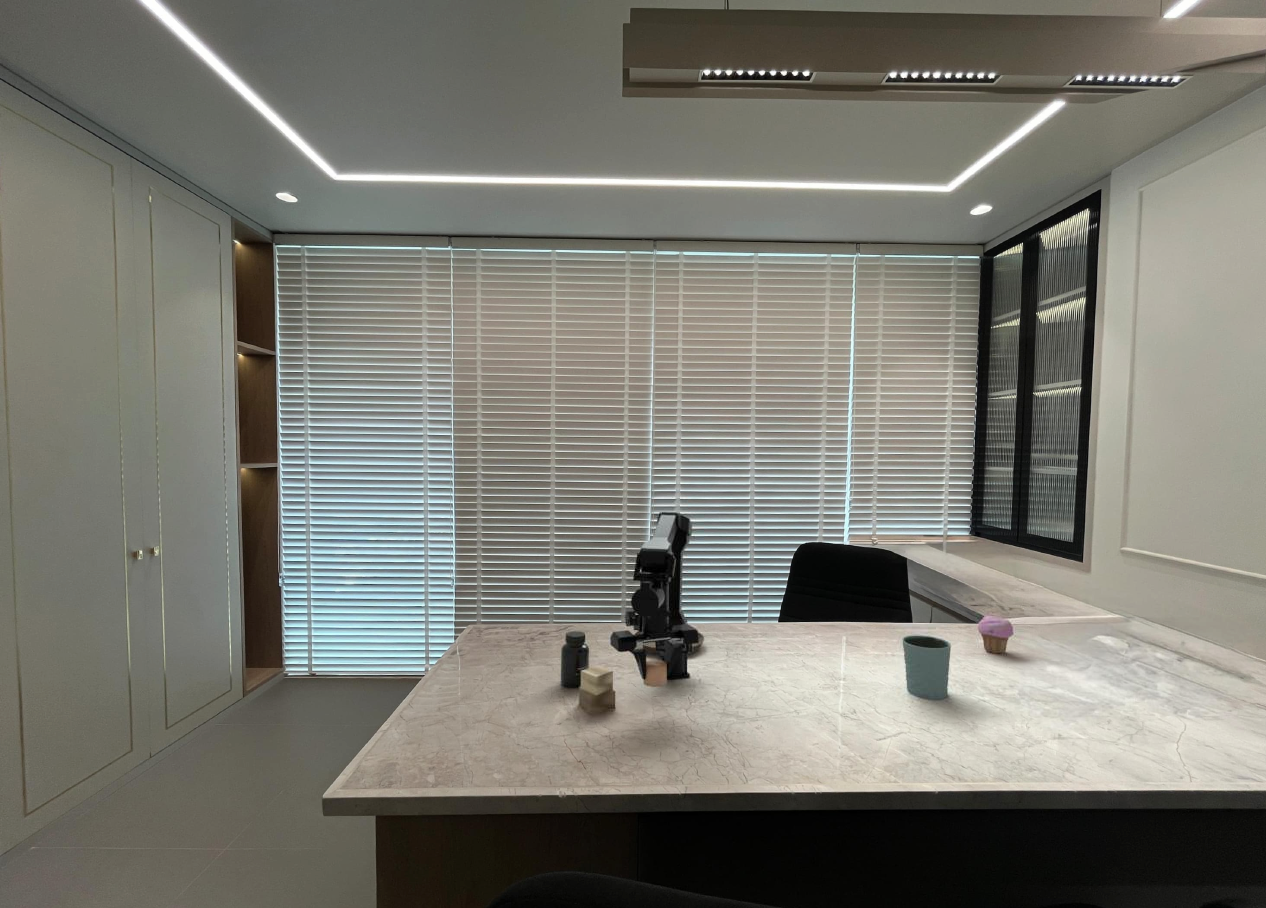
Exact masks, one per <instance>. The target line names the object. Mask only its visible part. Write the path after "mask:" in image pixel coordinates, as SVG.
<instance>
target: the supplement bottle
mask: <svg viewBox="0 0 1266 908" xmlns="http://www.w3.org/2000/svg"><path fill="white" fill-rule="evenodd" d="M564 642H565V643H564V644H563V645H562V647H561V651H560V684H562V686H564V687H566V688H573V689H575V688H579V687H581V671H582V670H585V669H588V668H590V647H589V645H587V643H586V633H585V632H583V631H577V630H574V631H568V632H566V633H565V640H564Z"/></svg>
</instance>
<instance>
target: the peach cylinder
mask: <svg viewBox="0 0 1266 908" xmlns="http://www.w3.org/2000/svg"><path fill="white" fill-rule="evenodd" d="M642 680H643V679H642ZM667 681H668V679H667V663H666V662H664V661H660V660H658V659H651V660H650V659H649V660H646V677H645V680H643V685H645V686H647V687H651V688H658V687H659V688H660V687H664V686H665V685H667V683H668V682H667Z"/></svg>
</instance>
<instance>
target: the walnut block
mask: <svg viewBox="0 0 1266 908" xmlns="http://www.w3.org/2000/svg"><path fill="white" fill-rule="evenodd" d="M578 705H579V706H580V707H582V708H583V709H584V710H585V711H586V712H587V714H589V715H594V714H598V713H602V712H607V711H612V710H615V709H616V690H615V689H614V688H613V689H612V690H609V691H607V692H604V693H601V694H599V695H594V694H591V693H589V692H587V691H584V690H582V689H581V687H578Z"/></svg>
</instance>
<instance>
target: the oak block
mask: <svg viewBox="0 0 1266 908" xmlns="http://www.w3.org/2000/svg"><path fill="white" fill-rule="evenodd" d="M581 689H582V690H584V691H587V692H589V693H591V694H594V695H599V694H601V693H604V692H607V691H609V690H612V689H613V690H614V671H613V670H611V669H609V668H606V667H604V666H601V665H594V666H590V667H589V668H588V669H585V670H582V671H581Z"/></svg>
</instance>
